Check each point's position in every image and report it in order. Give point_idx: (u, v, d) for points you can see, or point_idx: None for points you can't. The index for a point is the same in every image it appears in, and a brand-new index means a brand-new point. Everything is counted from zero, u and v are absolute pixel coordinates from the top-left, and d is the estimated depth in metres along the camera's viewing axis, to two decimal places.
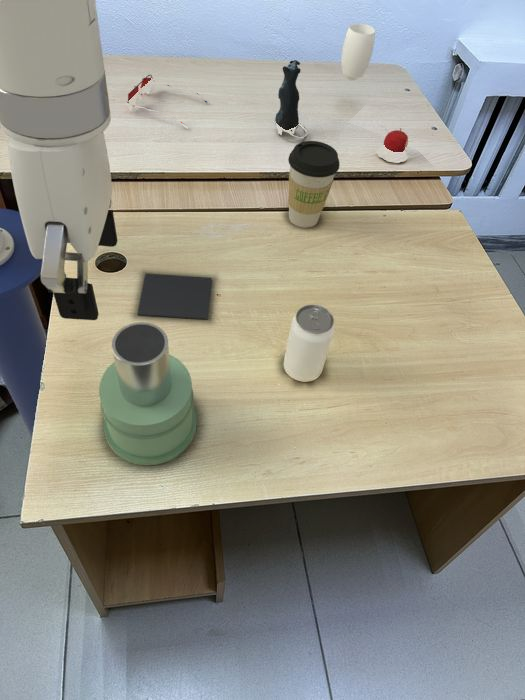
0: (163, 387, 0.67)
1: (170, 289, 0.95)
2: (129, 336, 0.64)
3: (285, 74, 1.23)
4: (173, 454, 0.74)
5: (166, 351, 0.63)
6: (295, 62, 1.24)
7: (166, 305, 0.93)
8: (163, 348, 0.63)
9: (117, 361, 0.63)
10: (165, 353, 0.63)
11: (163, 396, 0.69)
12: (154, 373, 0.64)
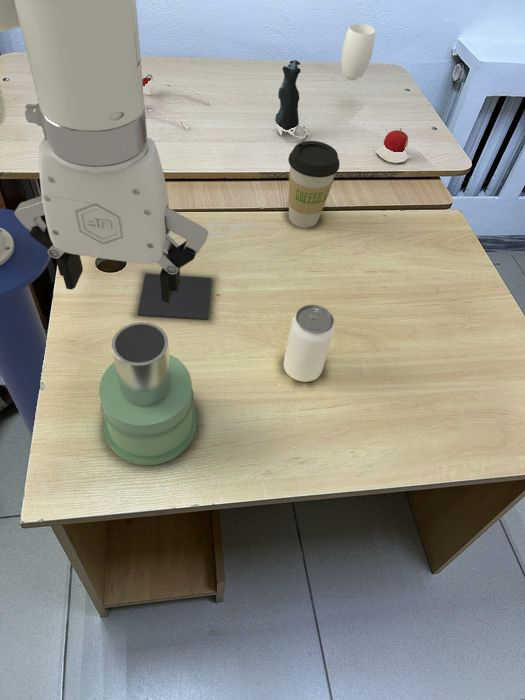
0: (163, 387, 0.67)
1: None
2: (129, 336, 0.64)
3: (285, 74, 1.23)
4: (173, 454, 0.74)
5: (166, 351, 0.63)
6: (295, 62, 1.24)
7: (166, 305, 0.93)
8: (163, 348, 0.63)
9: (117, 361, 0.63)
10: (165, 353, 0.63)
11: (163, 396, 0.69)
12: (154, 373, 0.64)
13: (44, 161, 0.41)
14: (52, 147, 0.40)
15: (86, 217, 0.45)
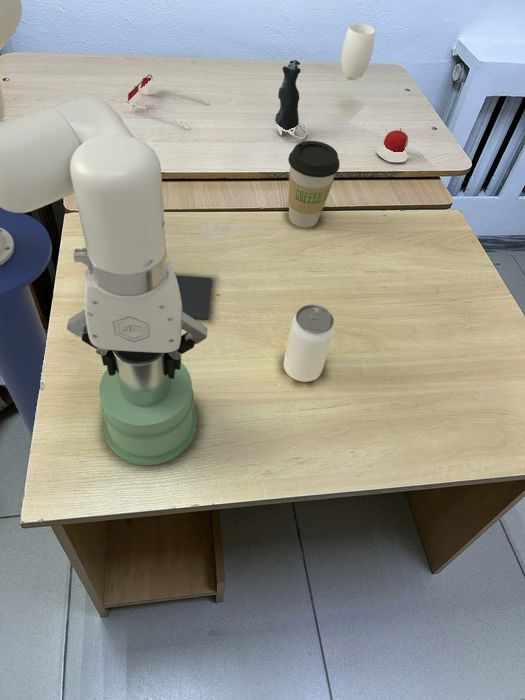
0: (163, 387, 0.67)
1: None
2: None
3: (285, 74, 1.23)
4: (173, 454, 0.74)
5: None
6: (295, 62, 1.24)
7: None
8: None
9: (117, 361, 0.63)
10: (165, 353, 0.63)
11: (163, 396, 0.69)
12: (154, 373, 0.64)
13: (90, 290, 0.53)
14: (98, 282, 0.52)
15: (121, 325, 0.57)
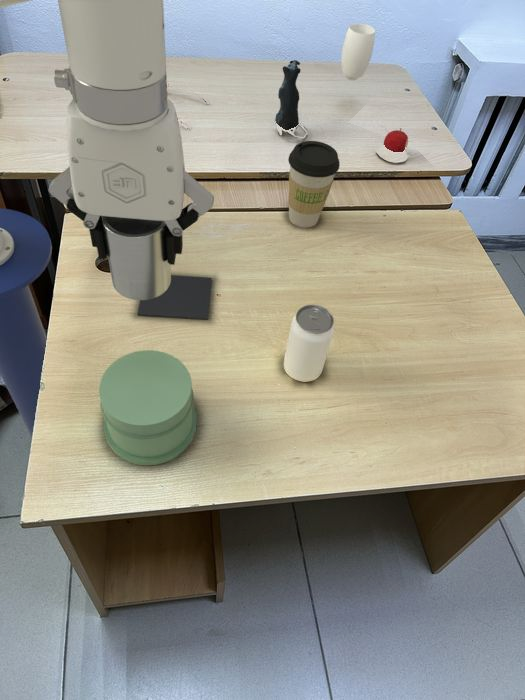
0: (162, 275, 0.58)
1: (170, 289, 0.95)
2: None
3: (285, 74, 1.23)
4: (173, 454, 0.74)
5: (165, 226, 0.54)
6: (295, 62, 1.24)
7: (166, 305, 0.93)
8: (162, 222, 0.54)
9: (108, 235, 0.53)
10: (164, 228, 0.54)
11: (161, 288, 0.60)
12: (151, 252, 0.55)
13: (73, 123, 0.44)
14: (83, 109, 0.43)
15: (111, 177, 0.48)
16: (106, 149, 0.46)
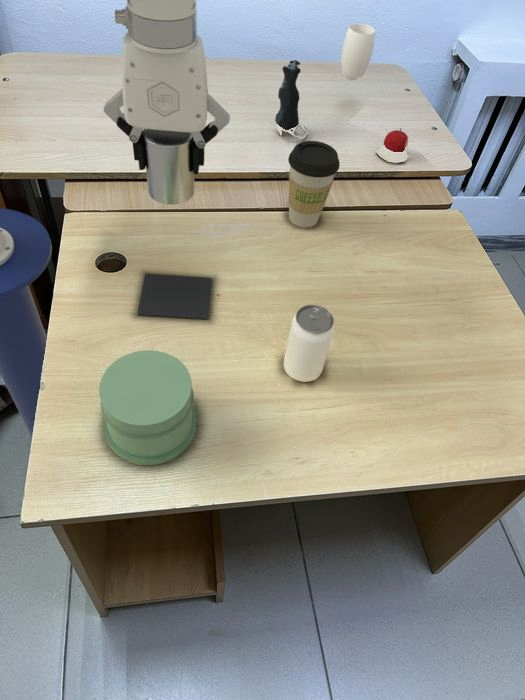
0: (188, 183, 0.74)
1: (170, 289, 0.95)
2: None
3: (285, 74, 1.23)
4: (173, 454, 0.74)
5: (192, 140, 0.70)
6: (295, 62, 1.24)
7: (166, 305, 0.93)
8: (190, 136, 0.70)
9: (148, 146, 0.69)
10: (191, 141, 0.70)
11: (187, 195, 0.75)
12: (181, 161, 0.70)
13: (128, 50, 0.60)
14: (136, 37, 0.59)
15: (154, 94, 0.63)
16: (151, 70, 0.61)
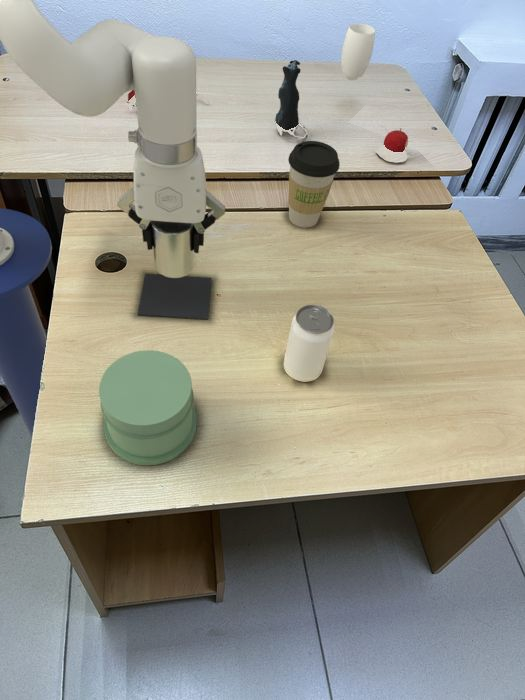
0: (190, 260, 0.85)
1: (170, 289, 0.95)
2: None
3: (285, 74, 1.23)
4: (173, 454, 0.74)
5: (193, 226, 0.81)
6: (295, 62, 1.24)
7: (166, 305, 0.93)
8: (191, 224, 0.81)
9: (155, 233, 0.80)
10: (192, 228, 0.81)
11: (189, 269, 0.87)
12: (184, 244, 0.82)
13: (139, 163, 0.71)
14: (146, 155, 0.70)
15: (161, 195, 0.75)
16: (158, 178, 0.73)
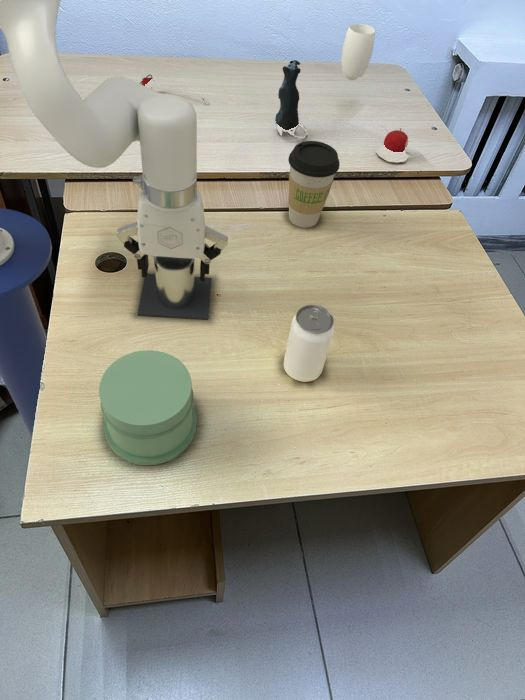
0: (190, 293, 0.91)
1: None
2: None
3: (285, 74, 1.23)
4: (173, 454, 0.74)
5: (193, 263, 0.87)
6: (295, 62, 1.24)
7: None
8: (191, 260, 0.87)
9: (158, 269, 0.86)
10: (192, 264, 0.87)
11: (189, 301, 0.92)
12: (184, 279, 0.87)
13: (143, 206, 0.77)
14: (149, 199, 0.75)
15: (163, 234, 0.80)
16: (161, 220, 0.78)
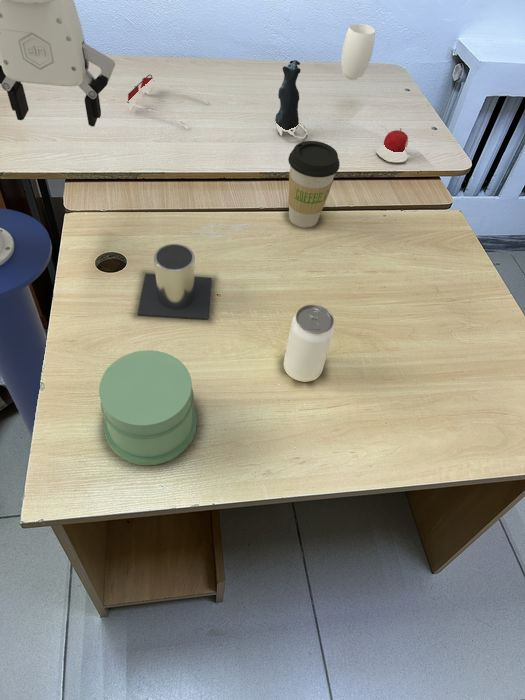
0: (190, 293, 0.91)
1: None
2: (166, 252, 0.88)
3: (285, 74, 1.23)
4: (173, 454, 0.74)
5: (193, 263, 0.87)
6: (295, 62, 1.24)
7: None
8: (191, 260, 0.87)
9: (158, 269, 0.86)
10: (192, 264, 0.87)
11: (189, 301, 0.92)
12: (184, 279, 0.87)
13: None
14: None
15: (26, 46, 0.65)
16: (19, 21, 0.63)
